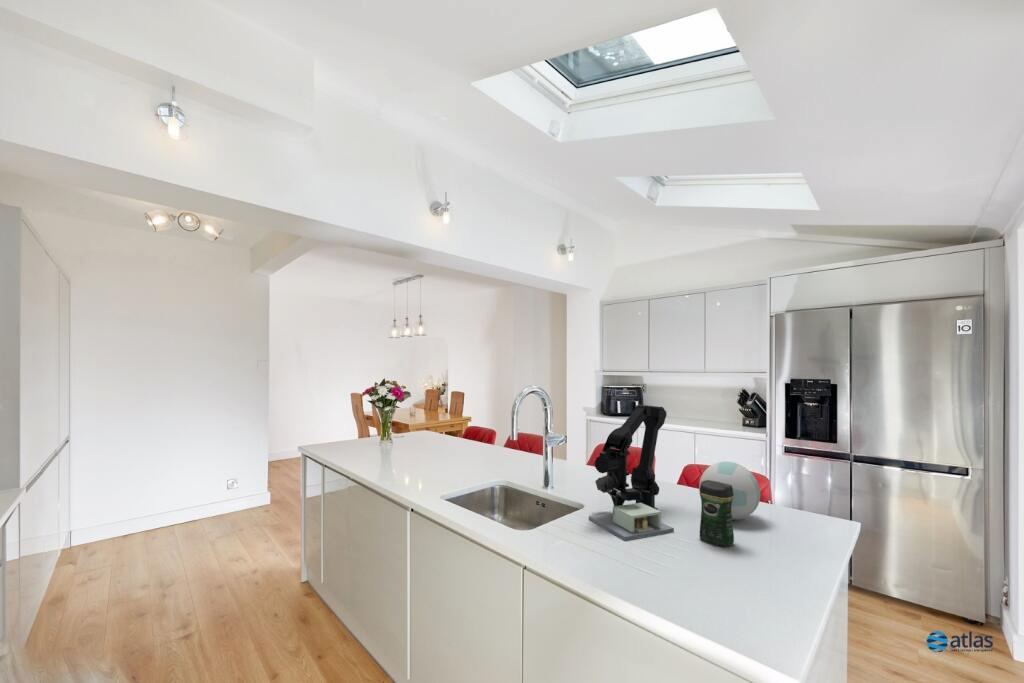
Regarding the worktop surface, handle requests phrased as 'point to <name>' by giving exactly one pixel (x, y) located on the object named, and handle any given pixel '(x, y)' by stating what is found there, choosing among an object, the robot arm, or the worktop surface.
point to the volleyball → (736, 486)
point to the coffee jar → (716, 513)
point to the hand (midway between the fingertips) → (617, 512)
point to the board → (623, 533)
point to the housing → (635, 515)
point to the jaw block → (639, 522)
